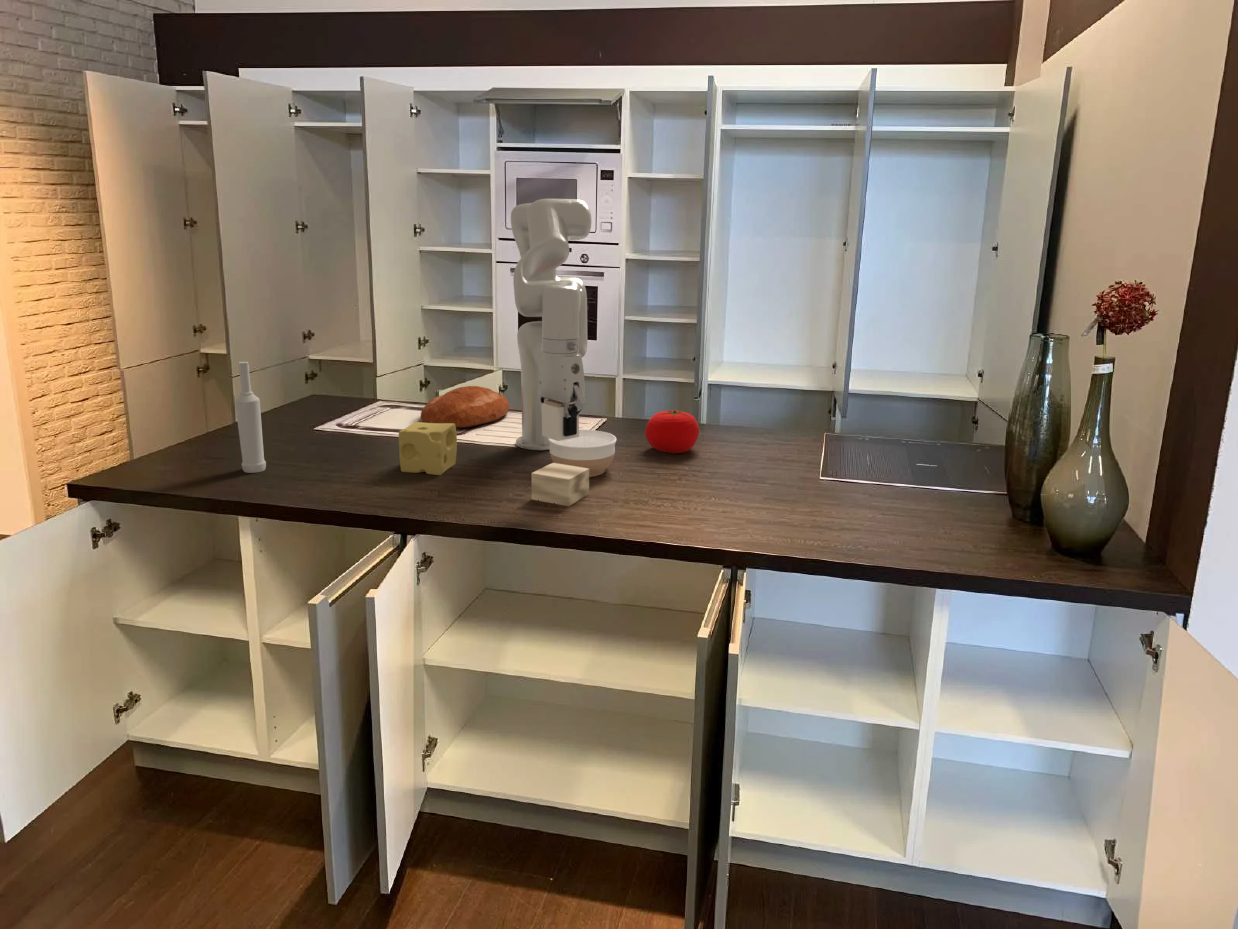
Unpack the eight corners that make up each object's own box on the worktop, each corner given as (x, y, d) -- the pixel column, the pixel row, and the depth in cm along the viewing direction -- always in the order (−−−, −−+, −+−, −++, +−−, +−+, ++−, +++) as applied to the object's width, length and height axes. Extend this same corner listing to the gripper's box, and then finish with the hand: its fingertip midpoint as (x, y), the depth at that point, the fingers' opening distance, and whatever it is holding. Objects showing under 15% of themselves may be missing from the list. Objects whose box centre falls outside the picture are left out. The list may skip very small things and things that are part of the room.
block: (552, 488, 200) (552, 462, 198) (588, 495, 196) (589, 468, 194) (531, 500, 192) (531, 473, 190) (568, 507, 188) (568, 479, 186)
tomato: (669, 461, 221) (671, 419, 218) (634, 449, 231) (635, 409, 228) (709, 451, 231) (711, 411, 227) (674, 440, 240) (675, 402, 237)
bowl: (584, 457, 223) (584, 425, 221) (630, 471, 213) (630, 438, 210) (534, 469, 213) (533, 436, 210) (579, 485, 202) (579, 451, 199)
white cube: (562, 431, 193) (562, 397, 191) (578, 436, 190) (579, 401, 187) (542, 435, 190) (541, 400, 188) (558, 441, 186) (558, 405, 184)
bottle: (271, 468, 209) (261, 361, 202) (254, 474, 204) (242, 365, 197) (254, 465, 211) (243, 359, 204) (237, 471, 207) (225, 363, 199)
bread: (403, 428, 248) (402, 396, 245) (454, 403, 277) (453, 375, 275) (479, 435, 242) (478, 402, 240) (523, 409, 272) (523, 380, 269)
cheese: (441, 476, 206) (439, 433, 203) (397, 472, 208) (395, 430, 205) (458, 463, 216) (456, 422, 213) (416, 460, 218) (414, 419, 215)
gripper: (602, 350, 181) (600, 437, 186) (549, 339, 193) (549, 421, 198) (572, 353, 176) (572, 443, 181) (520, 342, 188) (521, 427, 193)
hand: (560, 431), depth 189 cm, fingers closed on white cube, 5 cm apart
